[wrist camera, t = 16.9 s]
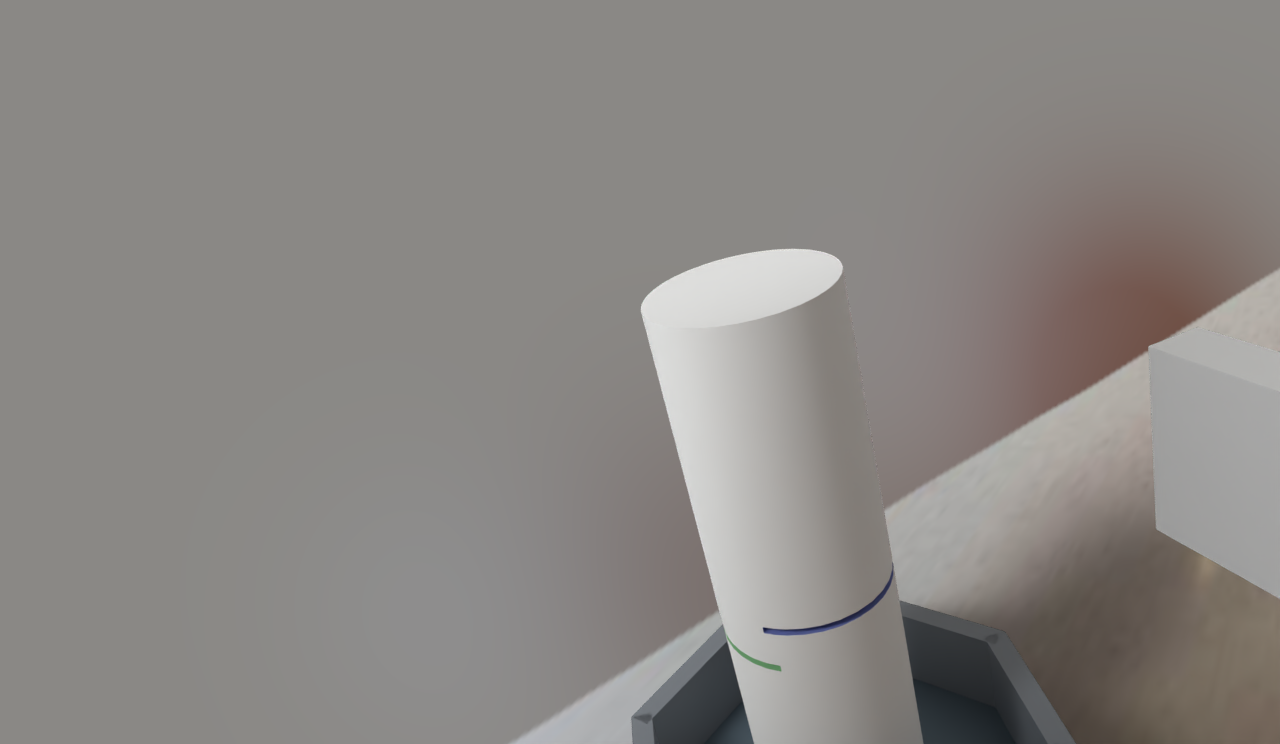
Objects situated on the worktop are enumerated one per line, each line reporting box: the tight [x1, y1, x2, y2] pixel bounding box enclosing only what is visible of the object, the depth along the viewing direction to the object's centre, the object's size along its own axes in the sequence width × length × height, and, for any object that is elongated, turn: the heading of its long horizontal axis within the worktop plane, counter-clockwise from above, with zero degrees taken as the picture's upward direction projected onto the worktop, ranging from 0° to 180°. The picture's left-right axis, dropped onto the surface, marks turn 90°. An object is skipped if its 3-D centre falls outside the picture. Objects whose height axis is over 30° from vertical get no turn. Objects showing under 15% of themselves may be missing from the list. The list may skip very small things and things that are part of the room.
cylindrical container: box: [641, 249, 923, 744], centre depth 38 cm, size 7×7×25 cm
